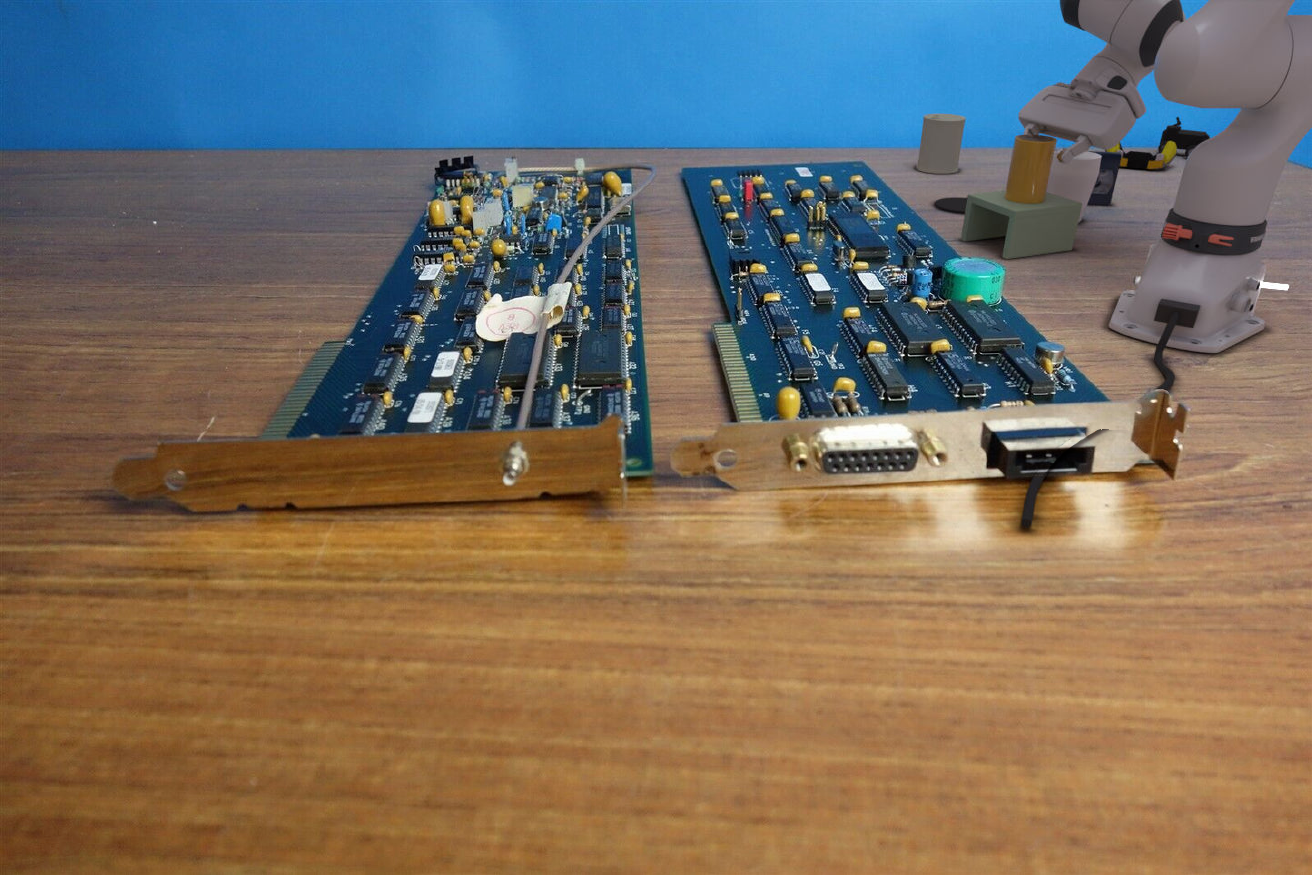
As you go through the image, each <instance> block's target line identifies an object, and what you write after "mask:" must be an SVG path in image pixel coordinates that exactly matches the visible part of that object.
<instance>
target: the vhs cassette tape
mask: <svg viewBox="0 0 1312 875" xmlns="http://www.w3.org/2000/svg"><path fill="white" fill-rule="evenodd" d="M1087 151H1088V152H1093V153H1097V154H1099V155H1101V162H1100V169H1099V174H1098V177H1097V180H1096V182H1095V185H1094V188H1093V190H1092V193H1091V196H1090V198H1089V201H1088V204H1087V206H1088V205H1090V206H1091V205H1092V206H1093V205H1094V206H1110V205H1112V200H1113V196H1114V191H1115V186H1116V182H1117V178H1118V174H1119V171H1120V170H1119V169H1120V167H1119V165H1120V162H1121V157H1122V155H1121V153H1119V152H1116V153H1115V152H1105V151H1101V150H1100V151H1098V150H1097V151H1095V150H1094V151H1093V150H1087Z"/></svg>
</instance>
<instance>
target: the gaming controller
mask: <svg viewBox="0 0 1312 875" xmlns="http://www.w3.org/2000/svg"><path fill="white" fill-rule="evenodd" d="M1104 152H1115V153H1116V152H1119V153H1121V155H1122V157H1121V162H1120V165H1119V167H1118V168H1123V167H1125V168H1132V169H1145V170H1158V169H1163V168H1165V167H1167V166H1169V165H1170V164H1171V163H1172V162H1173V160H1174V159H1175V158H1176V156H1177V152H1178V149H1177V147H1176V144H1175V142H1172V141H1168V142H1167V143H1166V144H1165V145H1164V146H1163V148H1162V149H1161V150H1160V151H1158V152H1157V153H1156V154H1154V155H1153V154H1152V153H1151V152H1149V151H1148V152H1147V151H1137V150H1129V151H1127V152H1125V151H1124V149H1123V146H1122V144H1121V141H1120V142H1119V143H1118V144H1117V145H1116V146H1115V147H1112V148H1110V149H1108V150H1104Z"/></svg>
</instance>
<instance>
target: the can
mask: <svg viewBox="0 0 1312 875" xmlns="http://www.w3.org/2000/svg"><path fill="white" fill-rule="evenodd" d="M966 120H967V118H966V117H965V116H963V115H959V114H951V113H928V114H924V115H923V119H922V129H921V135H920V145H919V152H918V158H917V164H916V170H917V171H919V172H923V173H926V174H927V173H928V174H933V175H934V174H935V175H949V174H950V175H951V174H955V173H958V172H959V161H960V155H961V147H962V142H963V135H964V129H965V123H966Z"/></svg>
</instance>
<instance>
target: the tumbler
mask: <svg viewBox="0 0 1312 875" xmlns="http://www.w3.org/2000/svg"><path fill="white" fill-rule="evenodd" d="M1057 141H1058V139H1057V137H1053V136H1049V135H1045V134H1039V135H1031V134H1027V135H1023V134H1018V135H1015V137H1014V142H1013V146H1012V153H1011V157H1010V163H1009V168H1008V175H1007V180H1006V185H1005V196H1004V198H1005V199H1007V200H1009V201H1013V202H1017V203H1026V204H1035V203H1042V202H1044V201H1045V196H1046V191H1047V187H1048V182H1049V177H1050V172H1051V167H1052V162H1053V157H1054V152H1055V150H1056V147H1057V143H1058V142H1057Z"/></svg>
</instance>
